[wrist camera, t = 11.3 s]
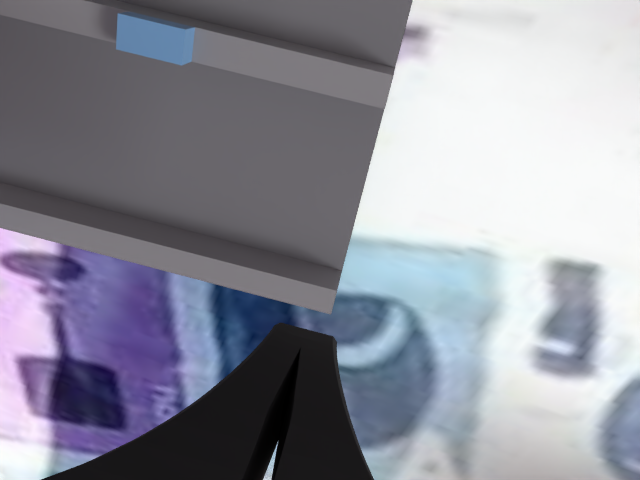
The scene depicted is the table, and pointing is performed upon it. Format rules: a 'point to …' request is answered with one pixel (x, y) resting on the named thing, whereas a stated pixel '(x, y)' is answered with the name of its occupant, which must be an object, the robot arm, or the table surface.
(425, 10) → the table surface
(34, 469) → the table surface
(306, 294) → the board
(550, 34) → the table surface
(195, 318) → the table surface
